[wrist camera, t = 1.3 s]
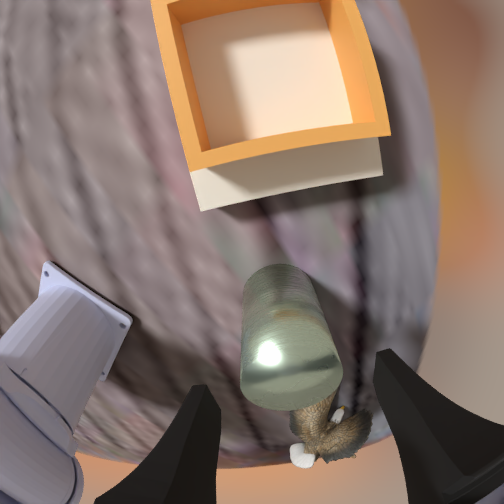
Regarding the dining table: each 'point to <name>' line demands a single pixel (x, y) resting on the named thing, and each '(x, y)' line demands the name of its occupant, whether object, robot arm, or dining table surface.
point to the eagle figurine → (327, 433)
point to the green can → (285, 342)
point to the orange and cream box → (271, 94)
